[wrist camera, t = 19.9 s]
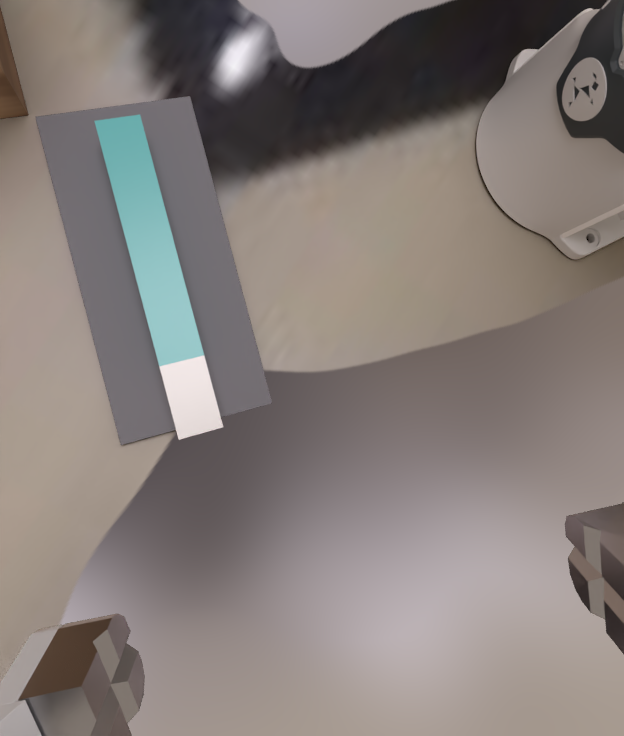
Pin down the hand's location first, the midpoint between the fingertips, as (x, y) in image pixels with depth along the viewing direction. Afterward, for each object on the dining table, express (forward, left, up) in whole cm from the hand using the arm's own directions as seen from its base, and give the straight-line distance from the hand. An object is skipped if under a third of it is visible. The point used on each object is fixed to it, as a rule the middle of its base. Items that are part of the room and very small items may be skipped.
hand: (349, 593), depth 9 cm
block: (+2, -13, -29) cm, 32 cm away
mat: (+2, -15, -30) cm, 33 cm away
